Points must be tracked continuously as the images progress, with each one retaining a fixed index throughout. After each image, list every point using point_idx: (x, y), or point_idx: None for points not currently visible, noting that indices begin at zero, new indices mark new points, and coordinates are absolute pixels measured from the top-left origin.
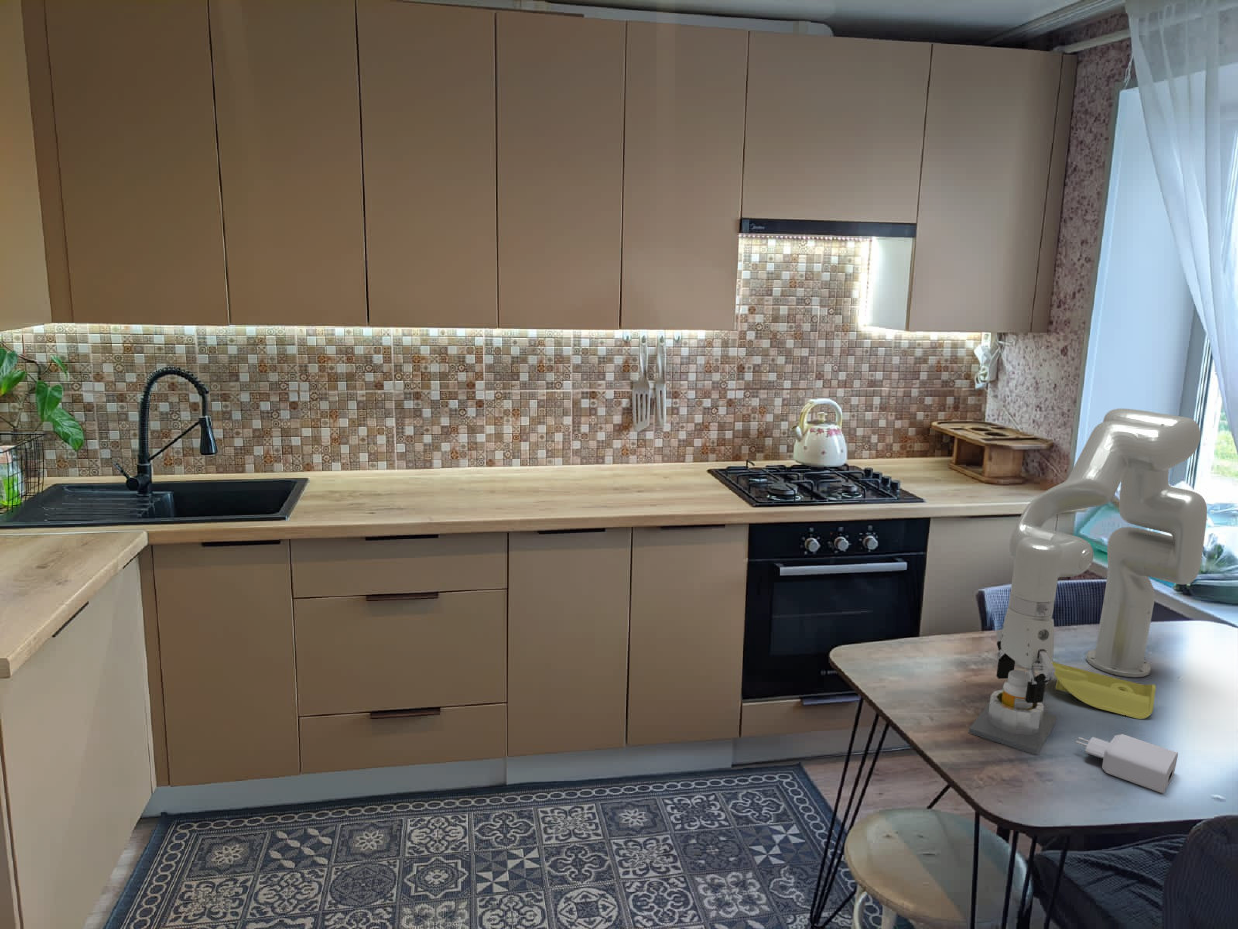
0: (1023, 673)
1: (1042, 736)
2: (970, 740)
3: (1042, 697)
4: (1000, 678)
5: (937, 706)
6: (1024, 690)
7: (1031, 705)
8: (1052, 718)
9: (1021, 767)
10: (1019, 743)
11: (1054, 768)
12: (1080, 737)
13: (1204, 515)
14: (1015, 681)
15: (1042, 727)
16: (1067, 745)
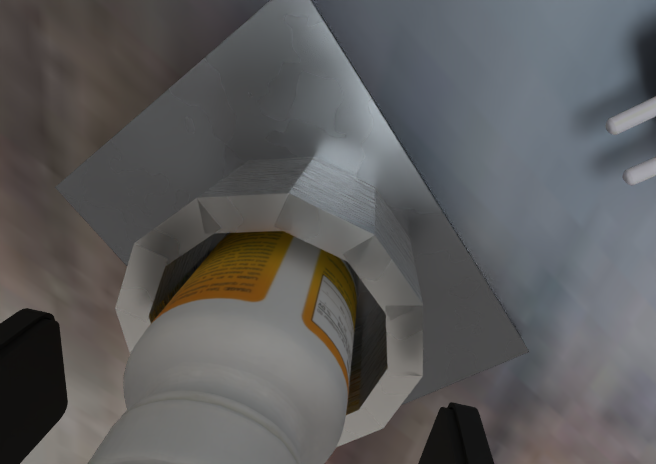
0: None
1: (447, 244)
2: (341, 455)
3: (482, 443)
4: (67, 402)
5: (105, 400)
6: (314, 453)
7: (345, 311)
8: (307, 30)
9: (553, 436)
10: (452, 374)
11: (627, 343)
12: (620, 120)
13: None
14: None
15: (376, 175)
16: (522, 137)
